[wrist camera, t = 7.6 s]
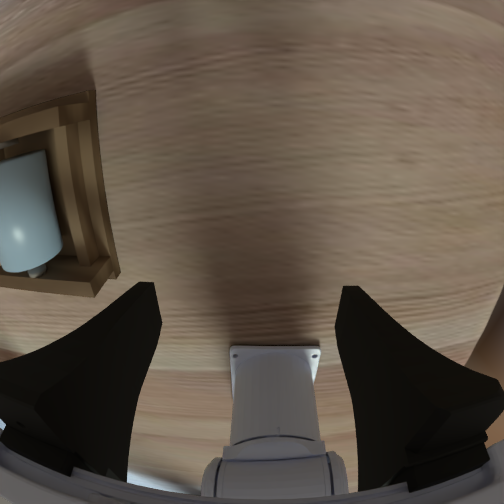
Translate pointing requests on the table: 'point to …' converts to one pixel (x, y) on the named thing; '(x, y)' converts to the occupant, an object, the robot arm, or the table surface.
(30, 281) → the holder
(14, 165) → the tapered cup
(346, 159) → the table surface
